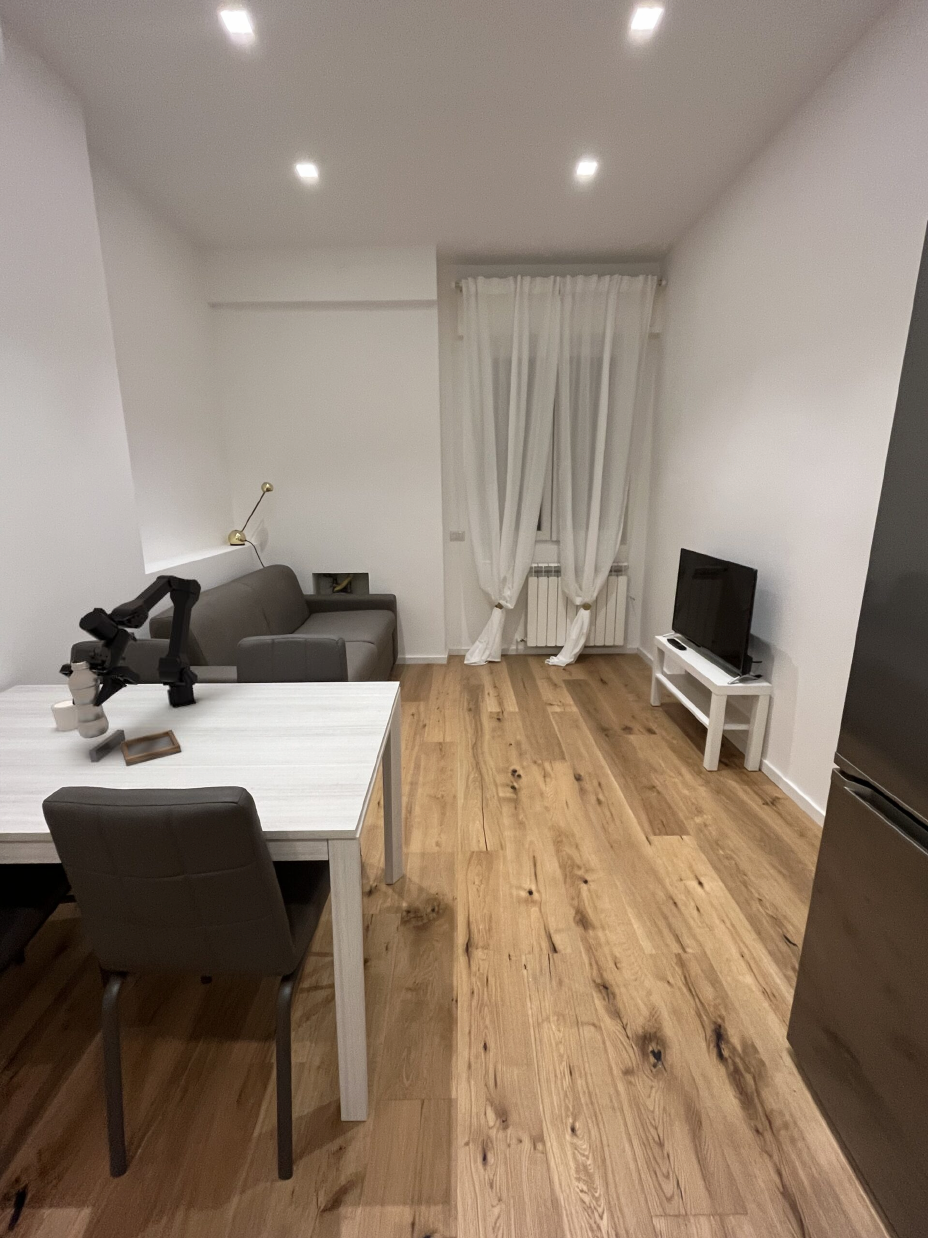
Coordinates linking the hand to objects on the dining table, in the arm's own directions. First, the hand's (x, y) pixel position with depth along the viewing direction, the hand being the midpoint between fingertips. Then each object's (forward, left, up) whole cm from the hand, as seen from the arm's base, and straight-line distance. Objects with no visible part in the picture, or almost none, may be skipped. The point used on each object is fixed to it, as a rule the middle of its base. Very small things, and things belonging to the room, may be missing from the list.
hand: (85, 705), depth 135 cm
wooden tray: (-12, +6, -13) cm, 19 cm away
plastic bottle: (-1, -1, -9) cm, 9 cm away
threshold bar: (-3, 0, -13) cm, 14 cm away
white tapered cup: (+4, -24, -13) cm, 28 cm away
